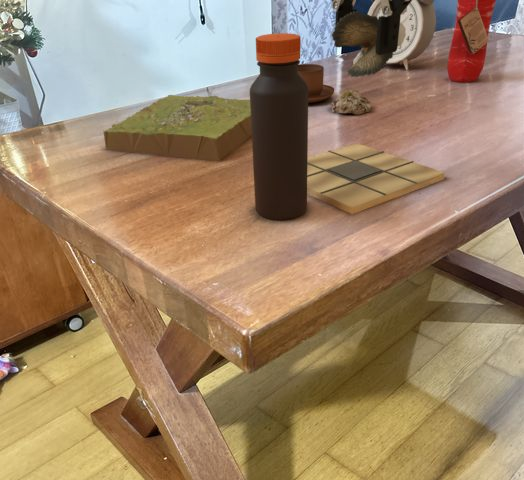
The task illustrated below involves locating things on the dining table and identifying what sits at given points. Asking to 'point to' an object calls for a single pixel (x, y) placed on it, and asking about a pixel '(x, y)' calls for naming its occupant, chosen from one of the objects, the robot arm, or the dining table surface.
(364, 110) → the mineral rock
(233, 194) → the dining table surface
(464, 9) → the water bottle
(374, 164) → the board
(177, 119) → the miniature landscape model
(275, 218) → the vinegar
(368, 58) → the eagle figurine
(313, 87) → the cup and saucer
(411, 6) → the alarm clock
